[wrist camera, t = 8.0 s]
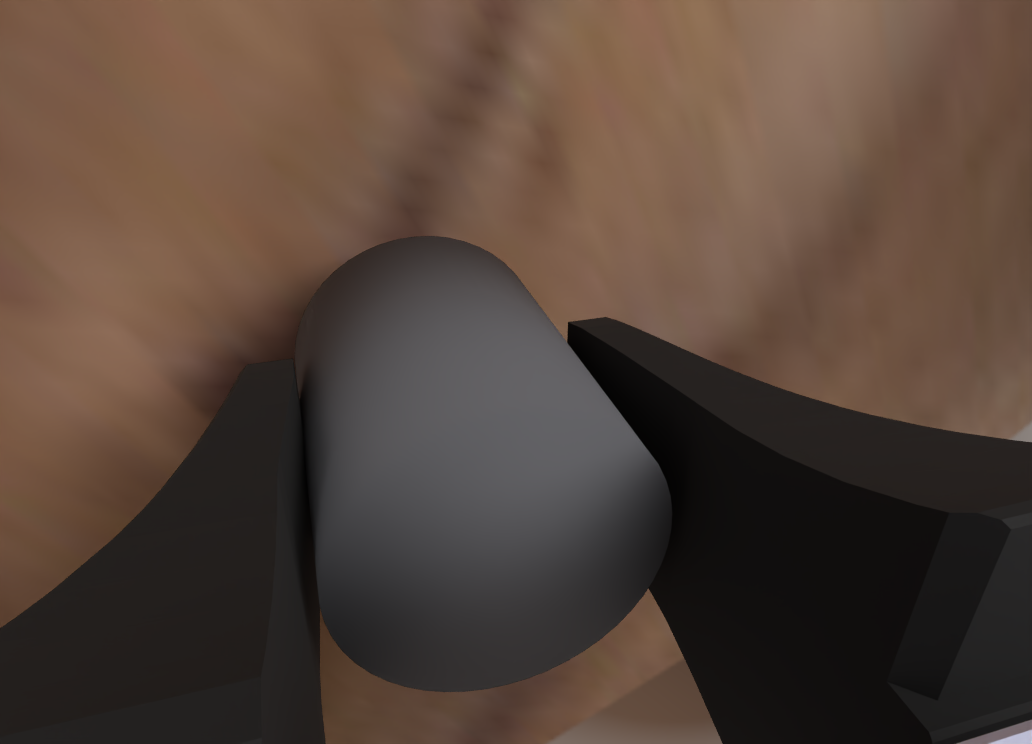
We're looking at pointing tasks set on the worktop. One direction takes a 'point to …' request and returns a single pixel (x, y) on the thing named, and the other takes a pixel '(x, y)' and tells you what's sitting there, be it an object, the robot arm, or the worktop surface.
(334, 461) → the plug
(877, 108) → the worktop surface
